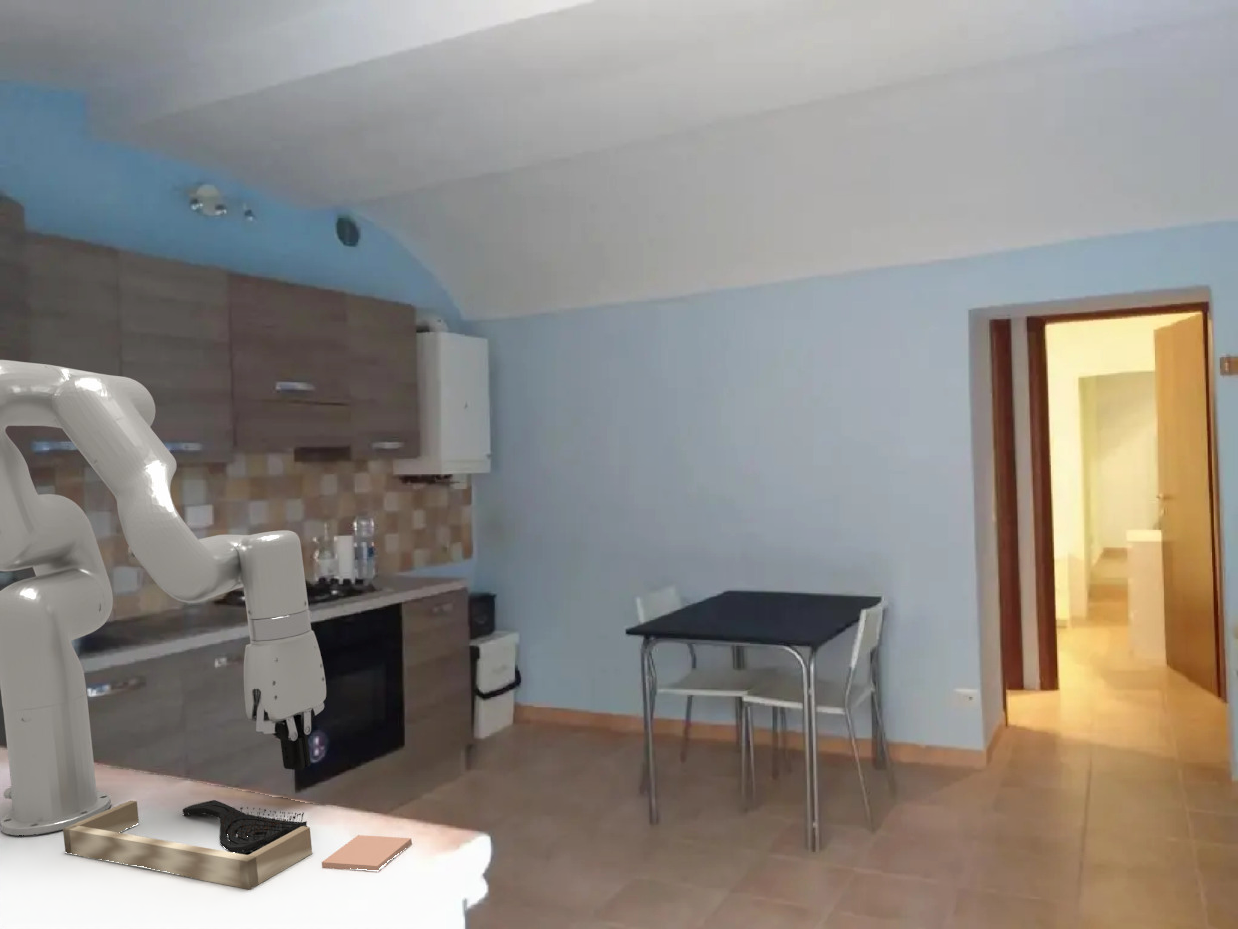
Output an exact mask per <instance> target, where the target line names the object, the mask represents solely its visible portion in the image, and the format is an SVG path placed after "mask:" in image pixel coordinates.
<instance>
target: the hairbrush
mask: <svg viewBox="0 0 1238 929" xmlns="http://www.w3.org/2000/svg"><path fill="white" fill-rule="evenodd" d="M246 808H247V810H249V806H247V807H246ZM242 809H244V808H243V807H240V809H237V808H235V807H233V806H231V805H228V804H226V803H224V802H221V801H218V800H215V799H212V800H208V801H203V802H198V803H196V804H195V803H194V804H192V805H189V806H185V807H184V808H183V809H182V814H184V815H183V817H186V816H188V817H189V816H195V815H196V816H198V815H199V816H200V815H208V816H210V817H214V818H217V819H219V827H220V828H219V843H221V844H222V845H221V844H220V845H221V846H222V847H223V846H224V847H225V848H226V849H228V850H229V851H228V852H235V853H238V854H244V855H245V854H246V853H249V852H252V851H256V850H258V849H260V848H262V847H264V846H266V845H268V844H270V843H271V842H273V841H275V840H277V839H279V838H281V837H283V836H284V835H286V834H288V833H290V832H292V831H294V830H296V829H298V828H299V827H301V826H304V827H308V825H307V823H308V821H307V820H305V821H303V818H304V814H305V812H302V813H300V812H299V813H297V812H295V813H293V812H291V814H290V811H289V812H287V818H286V815H285V814H286V811H284V812H283V811H281V810H280V811H279V813H280V814H283V818H282V815H279V817H280V818H279V817H278V815H277V814H276V813H277V811H276V810H274V813H272V810H270V811H269V812H270V813H267V816H268V817H267V816H266V815H265V814H266V811H267V809H266V808H265V809H264V810H263V813H262V816H260V815H261V812H260V810H261V807H259V809H258V810H259V811H258V812H257V814H255V815H253V811H250V814H249V812H243V810H242ZM252 810H255V807H253V808H252ZM271 813H272V816H275V817H276V818H275V817H271V816H270V814H271ZM293 814H294V815H293ZM299 816H300V817H299ZM298 817H299V818H298ZM300 818H301V820H300ZM227 834H228V835H227ZM236 834H237V835H236ZM235 836H236V837H235ZM247 836H248V837H247ZM229 840H230V841H229ZM224 847H223V848H224ZM226 849H225V850H226Z"/></svg>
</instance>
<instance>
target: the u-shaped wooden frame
mask: <svg viewBox="0 0 1238 929" xmlns="http://www.w3.org/2000/svg"><path fill="white" fill-rule="evenodd" d="M138 810H139V809H138V801H137V800H128V801H126V802H124V803H121V804H119V805H116V806H114V807H113V806H112V807H111V808H108V810H106V811H104V812H101V813H99V814H97V815H94V816H92V817H89V818H87V819H85V820H82V821H80V822H77V823H75V824H73V825H70V826H68V827H65V828H63V829H62V833H63V842H64V852H67V853H72V854H77V855H80V856H79V857H81V856H84V857H83V858H86V857H89V858H88V859H91V858H94V859H93V860H96V859H102V860H109V861H114V862H119V863H122V864H123V863H124V864H128V865H137V866H144V867H147V868H151V869H155V870H160V871H167V872H170V873H174V874H179V875H181V876H180V877H184V876H186V877H184V878H188V877H192V878H191V879H193V878H196V879H195V880H199V879H200V881H205V882H210V883H214V884H219V885H225V886H231V887H234V888H240V889H246V890H252V889H253V888H255V887H257V886H258V885H261V884H262V883H264V882H265V881H267V880H269V879H270V878H272V877H274V876H276V875H277V874H279V873H281V872H282V871H285V870H286V869H288V868H291V867H292V866H294V865H295V864H296V863H298V862H301V861H302V860H304V859H305V858H307V857H308V856H311V855H312V854H313V846H312V837H311V836H312V835H311V827H310V826H307V827H304V826H301V827H299V828H298V829H296V830H294V831H292V832H290V833H288V834H286V835H284V836H283V837H281V838H279V839H277V840H275V841H273V842H271V843H270V844H268V845H265V846H263V847H260V848H258V849H256V850H254V851H253V852H251V853H250V854H245V853H244V854H238V853H233V852H231V851H227V850H220V849H215V848H209V847H203V846H199V845H198V846H197V845H191V844H184V843H180V842H174V841H169V840H163V839H159V838H158V839H157V838H152V837H146V836H145V837H144V836H140V835H136V834H135V835H134V834H128V833H124V832H122V833H119V832H121V831H123V830H125V829H126V828H130V827H132V826H133V825H136V824H137V823H139V824H140V822H139V821H140V820H139V811H138ZM102 860H101V861H102ZM122 864H121V865H122Z"/></svg>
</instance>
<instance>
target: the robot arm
mask: <svg viewBox="0 0 1238 929" xmlns="http://www.w3.org/2000/svg"><path fill="white" fill-rule="evenodd" d="M155 417H156V404H155V401H154V398H153V396H152V395H151V393H150V392H149V390H148V389H147V388H146V387H145V386H144V385H143V384H142V383H140V382H139V381H137V380H135V379H133V378H130V377H127V376H120V375H119V376H118V375H112V374H111V375H110V374H105V373H97V372H93V371H86V370H80V369H75V368H71V367H64V366H58V365H52V364H46V363H45V364H44V363H37V362H36V363H34V362H26V361H25V362H24V361H17V360H8V359H0V572H15V571H19V570H20V571H21V570H25V569H30V568H32V569H33V572H34V573H35V576H31V577H28V578H24V579H22V580H19V581H18V580H17V581H16V582H13V583H12V584H9V585H7V586H6V587H4V588H2V589H1V590H0V695H1V697H0V698H1V704H2V705H1V706H2V710H3V712H2V713H3V720H4V721H3V722H4V730H5V739H6V750H7V757H8V758H7V760H8V767H9V776H10V778H9V779H10V787H7V788H6V789H5V790H4V791H3V797H4V798H5V799H8V800H11V806H12V809H11V810H10V811H9V812H8V813H6V814H5V815H4V816H3V817H2V818H1V820H0V829H1V831H2V833H5V834H6V835H9V834H10V835H11V836H19V835H22V836H21V837H23V835H24V836H34V834H36V835H43V834H49V833H53V832H57V831H63V828H65V827H68V826H70V825H73V824H75V823H77V822H80V821H82V820H85V819H87V818H89V817H92V816H94V815H97V814H99V813H101V812H104V811H106V810H109V809H110V807H111V805H112V798H111V795H110V794H109V793H108V792H104V791H102V790H97V783H96V773H95V772H96V771H95V763H94V752H93V743H92V742H93V740H92V732H91V723H90V722H91V721H90V713H89V712H90V711H89V704H88V703H89V702H88V694H87V685H86V679H85V673H84V669H83V666H82V663H81V661H80V658H79V657H78V655H77V653H76V650H75V649H74V646H73V644H72V641H73V640H76V639H80V638H83V637H85V636H87V635H89V634H92V633H94V632H95V631H97V630H98V629H100V628H101V627H102V626H104V625H105V623H107V621H108V619H109V618H110V616H111V614H112V610H113V606H114V605H113V603H114V597H113V596H114V594H113V590H112V585H111V582H110V578H109V575H108V572H107V569H106V566H105V563H104V560H103V557H102V553H101V550H100V548H99V545H98V542H97V538H96V536H95V532H94V530H93V526H92V523H91V522H90V519H89V518H88V517H87V514H86V513H85V512H84V510H83V509H82V508H81V507H80V506H79V504H77V503H76V502H75V501H73V500H72V499H70V498H68V497H66V496H64V495H60V494H53V493H44V494H39V493H38V491H37V489H36V488H35V484H34V482H33V480H32V477H31V474H30V471H29V467H28V463H27V462H26V460H25V458H24V456H23V453H21V451H20V450H19V448H18V447H17V445H16V444H15V443H14V442H13V441H12V439H10V437H9V436H8V434H7V432H6V430H7V427H9V426H10V427H12V426H13V427H15V426H16V427H21V426H22V427H30V426H31V427H32V426H34V427H36V426H37V427H51V428H58V429H62V430H63V432H64V433H65V434H66V436H67V437H68V439H69V440H71V442H72V444H74V446H75V447H76V449H77V450H78V451H79V452H80V454H81V455H82V456H83V457H84V459H85V460H86V461H87V463H88V464H89V465H90V466H91V468H92V469H93V470H94V471H95V473H96V474H97V475H98V476H99V478H100V479H101V480H102V482H103V483H104V485H106V487H107V488H108V490H109V491H110V492H111V493H112V495H113V496H114V498H115V500H116V505H117V506H116V507H117V514H118V519H119V521H120V525H121V528H122V532H123V535H124V539H125V541H126V543H127V545H128V547H129V549H130V551H131V552H132V554H133V556H135V558H136V559H137V561H138V562H139V564H140V566H142V567H143V568H144V570H145V571H146V573H148V575H149V577H151V579H152V580H153V581H154V582H155V583H156V585H158V587H159V588H160V589H161V590H162V591H164V592H165V593H166V594H167V595H169V596H170V597H171V598H172V599H175V600H176V601H180V602H183V603H191V604H192V603H194V604H195V603H199V602H203V601H207V600H209V599H212V598H214V597H218V596H219V595H223V594H226V593H229V592H232V591H234V590H237V589H242V588H243V594H244V595H243V596H244V602H245V609H246V617H247V626H248V633H249V634H248V635H249V640H250V643H249V644H246V645H245V650H244V659H243V688H244V689H243V690H244V691H243V692H244V693H243V695H244V705H245V713H246V717H247V719H248V721H251V722H256V725H255V732H256V734H259V735H269V734H271V735H273V736H274V738H275V739H276V740H279V741H280V748H281V755H282V763H283V768H284V769H286V770H293V771H295V770H296V771H297V770H298V771H301V770H303V769H305V768H307V767H310V766H311V764H312V762H311V754H310V746H309V738H308V735H310V733H311V731H312V723H313V720H314V718H315V716H317V715H318V714H320V713H321V712H322V711H323V710H324V708H325V702H324V701H325V700H326V697H327V684H326V676H325V675H326V674H325V669H324V664H323V659H322V656H321V651H320V650H321V649H320V647H319V643H318V640H317V636H316V634H315V631H314V630H312V625H311V620H312V618H313V616H314V615H313V613H312V610H310V608H309V601H308V592H307V586H306V585H307V584H306V577H305V570H304V569H305V568H304V561H303V559H304V558H303V553H302V545H301V540H300V537H299V535H298V534H297V532H294V531H292V530H289V529H287V530H273V531H272V530H271V531H266V532H258V533H253V534H217V535H212V536H208V537H203V538H199V539H198V537H197V536H196V535H195V533H194V532H193V531H192V530H191V528H190V527H189V526H188V525H187V524H186V522H185V521H184V520H183V518H182V517H181V515H180V513H179V512H178V510H177V508H176V506H175V504H174V501H173V499H172V494H171V484H172V480H173V478H174V474H175V473H176V471H177V461H176V459H175V457H174V456H173V454H172V453H171V452H170V450H169V449H168V448H167V447H166V446H165V444H164V443H163V441H162V440H161V439H160V438H159V437H158V436H157V434H156V433H155V432H154V431H153V429H152V428H151V427H152V425H153V422H154V420H155ZM10 835H9V836H10Z"/></svg>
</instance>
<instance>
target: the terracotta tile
mask: <svg viewBox="0 0 1238 929" xmlns="http://www.w3.org/2000/svg"><path fill="white" fill-rule="evenodd" d="M411 845H413V842H412V837H411V838H410V837H398V836H397V837H396V836H395V837H393V836H378V835H377V836H376V835H365V834H364V835H363V834H361V835H360V834H358V835H356V836H355V837H353V838H352V839H351V840H349V841H348V842H347V843H345V844H344V845H343V846H341V847H340V848H338V850H336V851H334V853H332V854H330V855H329V856H328V857H326V858H325V859H324V860H322V861H321V867H322V869H332V870H333V868H334V870H343V869H350V868H351V869H357V868H358V869H367V870H379V868H380V867H381V866H382V865H384V864H385V863H387V861H388V860H390V859H392V858H393V857H394V856H395V855H397V854H398V853H400V852H401V851H403V850H404V849H405V848H407V847H408V846H409V847H411ZM409 847H408V848H409ZM408 848H407V849H408ZM404 851H405V850H404ZM404 851H403V852H404Z"/></svg>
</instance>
